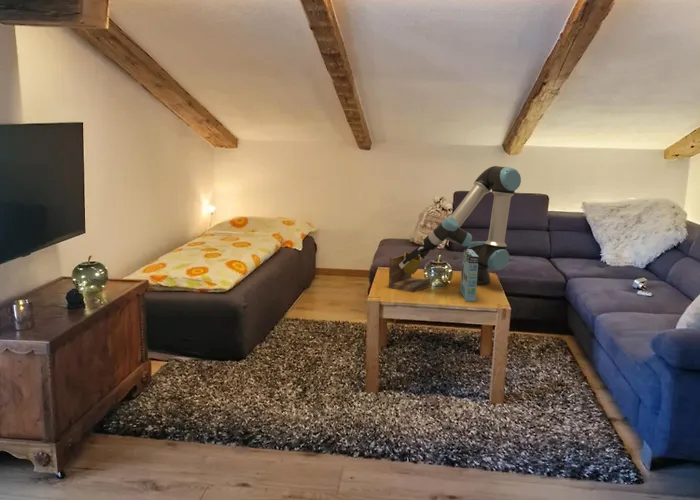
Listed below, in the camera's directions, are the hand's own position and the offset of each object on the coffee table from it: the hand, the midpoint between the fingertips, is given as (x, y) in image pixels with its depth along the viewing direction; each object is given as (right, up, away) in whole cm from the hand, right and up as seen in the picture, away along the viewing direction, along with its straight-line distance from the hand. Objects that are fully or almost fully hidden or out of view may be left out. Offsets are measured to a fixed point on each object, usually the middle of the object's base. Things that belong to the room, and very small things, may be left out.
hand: (406, 265), depth 329 cm
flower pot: (+1, -4, 0) cm, 4 cm away
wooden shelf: (+3, -12, 0) cm, 12 cm away
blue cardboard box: (+30, -16, -17) cm, 38 cm away
